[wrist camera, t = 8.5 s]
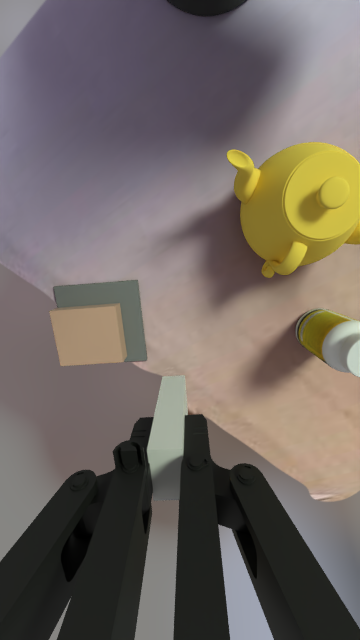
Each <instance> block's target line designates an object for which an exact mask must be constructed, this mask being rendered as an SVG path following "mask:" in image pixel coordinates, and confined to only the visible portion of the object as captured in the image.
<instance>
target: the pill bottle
mask: <svg viewBox="0 0 360 640" xmlns="http://www.w3.org/2000/svg"><path fill="white" fill-rule="evenodd" d="M296 337H297V340H298V341H299V343H300V344H301V345H302V346H303V347H305V348H306V349H307V350H309V351H310V352H311V353H313V354H314V355H315V356H317V357H318V358H319V359H321V360H322V361H323V362H325V363H326V364H328V365H329V366H330V367H332V368H334V369H335V370H338V371H341V372H348V373H349V372H350V373H352V374H353V375H355V376H357V377H360V321H358V320H355V319H353V318H350V317H347V316H344V315H341V314H339V313H336V312H333V311H330V310H327V309H313V310H310V311H308V312H306V313H305V314H304V315H303V316H302V317H301V318H300V319H299V321H298V323H297V325H296Z"/></svg>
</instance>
